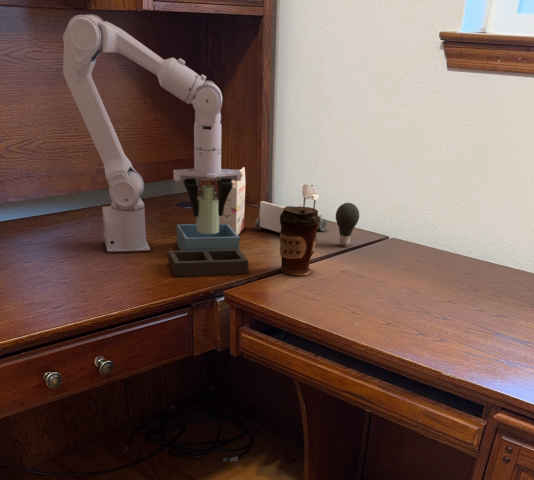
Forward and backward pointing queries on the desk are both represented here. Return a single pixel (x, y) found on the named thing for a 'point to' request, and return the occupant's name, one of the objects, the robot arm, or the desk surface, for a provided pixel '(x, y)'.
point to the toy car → (272, 211)
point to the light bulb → (346, 221)
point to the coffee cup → (297, 238)
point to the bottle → (207, 211)
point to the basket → (206, 238)
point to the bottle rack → (207, 262)
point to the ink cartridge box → (235, 205)
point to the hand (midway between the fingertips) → (207, 215)
